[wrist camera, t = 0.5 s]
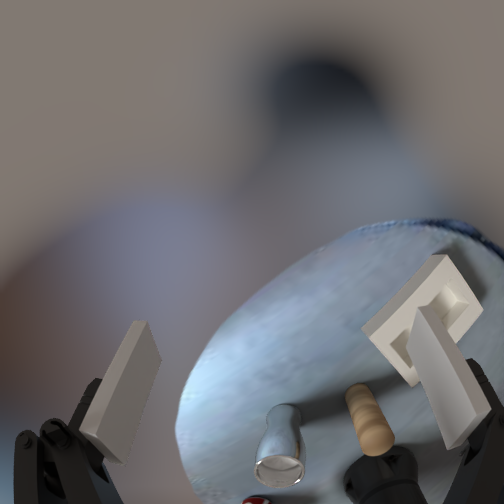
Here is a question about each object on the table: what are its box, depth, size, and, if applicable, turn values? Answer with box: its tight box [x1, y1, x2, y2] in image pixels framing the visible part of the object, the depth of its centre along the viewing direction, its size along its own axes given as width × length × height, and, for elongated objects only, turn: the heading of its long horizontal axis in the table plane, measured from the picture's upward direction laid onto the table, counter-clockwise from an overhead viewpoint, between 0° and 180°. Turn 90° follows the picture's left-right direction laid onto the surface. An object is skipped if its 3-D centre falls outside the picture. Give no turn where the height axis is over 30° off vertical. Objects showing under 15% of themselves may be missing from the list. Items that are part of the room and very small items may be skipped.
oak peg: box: [345, 383, 395, 456], centre depth 36 cm, size 4×4×15 cm
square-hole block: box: [361, 255, 483, 388], centre depth 39 cm, size 12×17×6 cm
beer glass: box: [254, 404, 306, 488], centre depth 37 cm, size 7×7×15 cm
